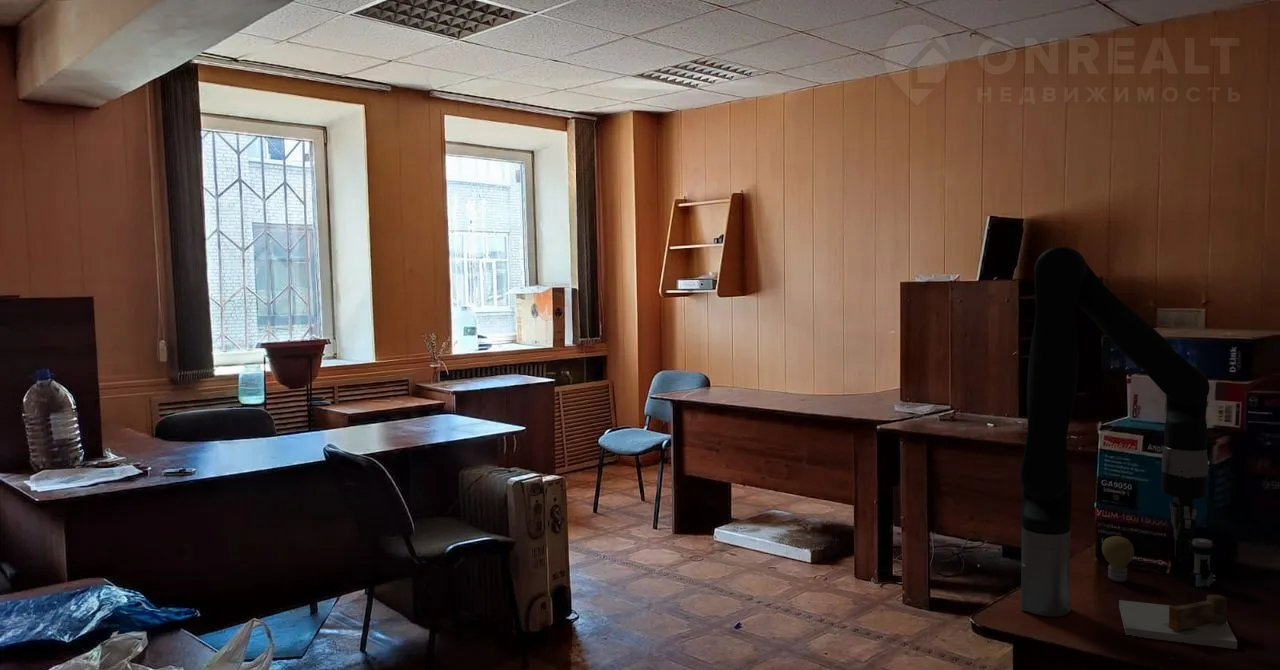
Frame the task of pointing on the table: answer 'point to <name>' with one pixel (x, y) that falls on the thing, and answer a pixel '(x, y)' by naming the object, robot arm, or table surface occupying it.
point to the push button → (1201, 562)
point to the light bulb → (1117, 556)
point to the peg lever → (1198, 613)
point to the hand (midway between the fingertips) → (1181, 558)
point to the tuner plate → (1155, 625)
